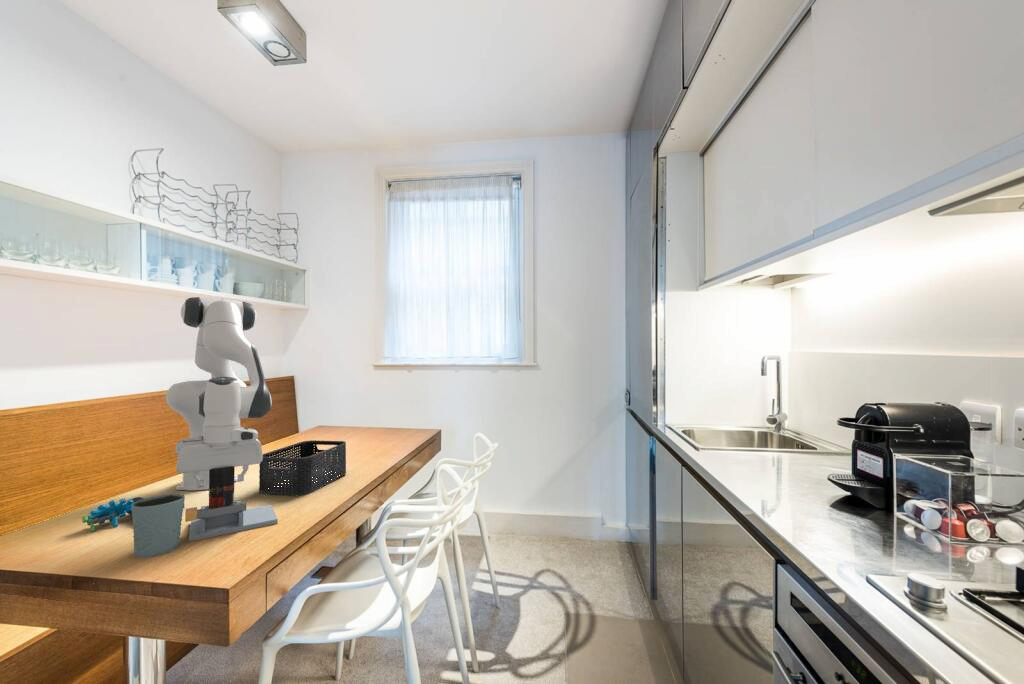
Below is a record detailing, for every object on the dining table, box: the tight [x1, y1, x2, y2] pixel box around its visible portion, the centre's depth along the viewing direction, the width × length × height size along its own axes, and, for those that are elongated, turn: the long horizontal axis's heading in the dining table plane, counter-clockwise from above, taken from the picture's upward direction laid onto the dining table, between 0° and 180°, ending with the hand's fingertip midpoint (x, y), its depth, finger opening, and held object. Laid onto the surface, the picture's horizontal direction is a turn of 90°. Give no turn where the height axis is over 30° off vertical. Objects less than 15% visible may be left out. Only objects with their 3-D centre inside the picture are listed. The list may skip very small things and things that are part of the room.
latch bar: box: [184, 501, 247, 523], centre depth 116 cm, size 3×13×3 cm, turn 125°
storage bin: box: [258, 439, 347, 496], centre depth 162 cm, size 29×19×13 cm
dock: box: [188, 499, 278, 542], centre depth 122 cm, size 15×20×5 cm
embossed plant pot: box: [131, 493, 186, 559], centre depth 106 cm, size 10×10×12 cm
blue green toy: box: [81, 498, 133, 533], centre depth 121 cm, size 11×6×10 cm
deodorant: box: [208, 466, 236, 507], centre depth 121 cm, size 6×6×15 cm
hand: (220, 483), depth 122 cm, fingers open, 8 cm apart
